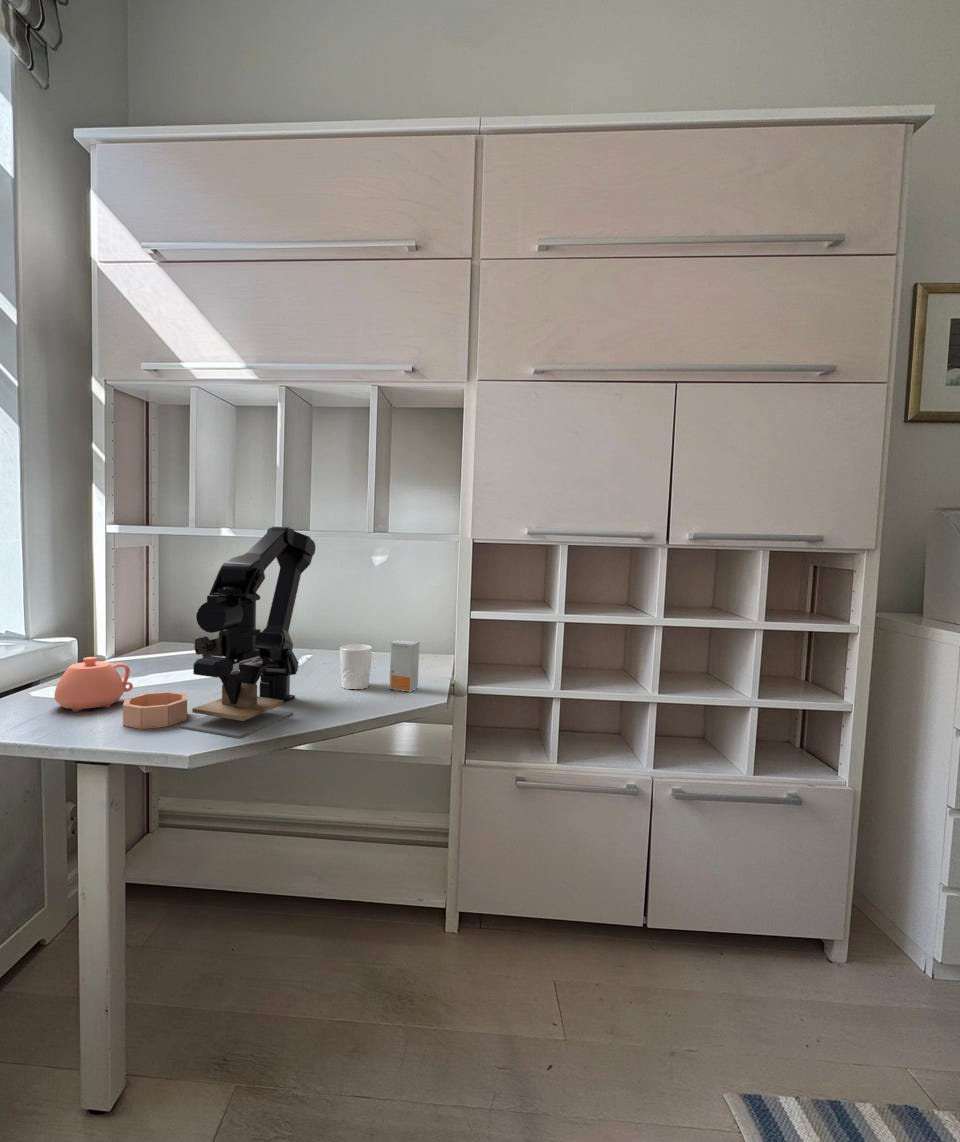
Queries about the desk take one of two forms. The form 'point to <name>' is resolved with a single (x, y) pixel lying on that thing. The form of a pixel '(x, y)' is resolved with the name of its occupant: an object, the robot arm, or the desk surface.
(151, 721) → the bowl
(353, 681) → the white cup
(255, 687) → the cover
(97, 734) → the desk surface
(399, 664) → the skincare box
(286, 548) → the robot arm
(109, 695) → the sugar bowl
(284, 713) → the mat
